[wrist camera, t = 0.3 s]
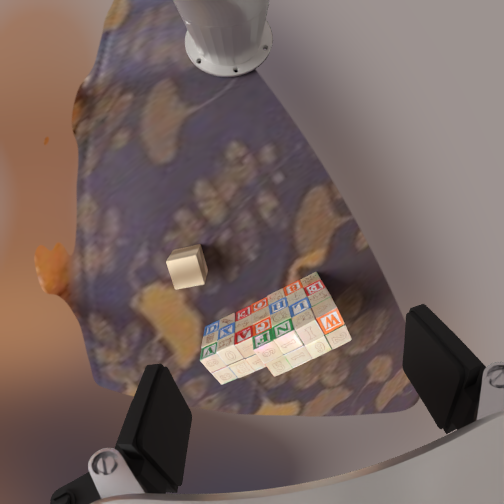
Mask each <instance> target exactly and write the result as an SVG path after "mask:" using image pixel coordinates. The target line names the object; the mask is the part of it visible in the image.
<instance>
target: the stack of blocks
mask: <svg viewBox="0 0 504 504" xmlns="http://www.w3.org/2000/svg"><path fill="white" fill-rule="evenodd" d="M351 340H352V339H351V336H350V334H349V332H348V330H347V327H346V325H345V324H344V321H343V319H342V317H341V314H340V312H339V310H338V308H337V306H336V305H335V303H334V301H333V299H332V297H331V295H330V293H329V292H328V290H327V288H326V287H325V285H324V284H323V282H322V280H321V279H320V277H319V275H318V273H317V272H314V273H312V274H311V275H309V276H307V277H305V278H303V279H301V280H298V281H296V282H294V283H292V284H290V285H288V286H286V287H284V288H282V289H280V290H278V291H276V292H274V293H272V294H270V295H268V296H267V297H266V298H263V299H262V300H260V301H258V302H256V303H254V304H252V305H250V306H248V307H246V308H244V309H242V310H240V311H238V312H236V313H233V314H231V315H229V316H226V317H224V318H222V319H220V320H218V321H216V322H214V323H212V324H210V325H208V326H206V327H205V331H204V336H203V341H202V346H201V348H202V350H201V356H200V361H201V362H202V363H203V365H204V366H205V367H206V368H207V369H208V370H209V372H210V373H212V374H213V376H214V377H215V378H216V379H217V380H218V381H219V382H220V383H221V384H225V383H227V382H230V381H232V380H235V379H237V378H240V377H243V376H245V375H248V374H250V373H253V372H254V371H258V370H260V369H262V368H264V367H266V366H267V368H268V369H269V370H270V372H271V373H272V374H273V376H274V377H275V376H278V375H280V374H282V373H284V372H287V371H289V370H291V369H293V368H294V367H297V366H299V365H301V364H303V363H305V362H308V361H309V360H311V359H314V358H316V357H318V356H320V355H322V354H324V353H326V352H328V351H330V350H332V349H335V348H337V347H339V346H341V345H343V344H345V343H347V342H349V341H351Z"/></svg>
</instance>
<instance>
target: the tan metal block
mask: <svg viewBox="0 0 504 504" xmlns="http://www.w3.org/2000/svg"><path fill="white" fill-rule="evenodd" d="M166 263H167V266H168V269H169V272H170V275H171V278H172V281H173V284H174V287H175V290H176V289H181V288H187V287H192V286H197V285H202V284H205V280H206V276H207V273H208V269H207V265H206V261H205V258H204V254H203V251H202V247H201V244H198V245H194V246H189V247H185V248H180V249H176V250H173V251H172V253H171V254H170V256H169V258H168V259H167V261H166Z"/></svg>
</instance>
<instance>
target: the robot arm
mask: <svg viewBox="0 0 504 504" xmlns="http://www.w3.org/2000/svg"><path fill="white" fill-rule="evenodd" d="M173 1H174V3H175V5H176V7H177V9H178V11H179V13H180V15H181V17H182V19H183V21H184V23H185V25H186V27H187V29H188V30H187V33H186V37H185V48H186V51H187V54H188V56H189V58H190V60H191V61H192V62H193V64H194V65H195V66H197V67H198V68H199V69H200V70H202V71H204V72H205V73H207V74H210V75H213V76H218V77H235V76H241V75H244V74H247V73H249V72H251V71H253V70H255V69H256V68H257V67H259V66H260V65H261V64H262V63H263V62H264V60H266V58H267V56H268V55H269V53H270V50H271V47H272V42H273V38H272V31H271V28H270V26H269V24H268V22H267V21H266V15H267V10H268V5H269V0H173ZM264 48H266V49H267V50H263V49H264ZM199 61H201V63H200V64H199V63H198V62H199ZM235 70H238V72H237V73H235V72H234V71H235ZM403 370H404V372H405V374H406V375H407V377H408V378H409V380H410V382H411V383H412V385H413V386H414V388H415V390H416V391H417V393H418V394H419V396H420V398H421V399H422V401H423V402H424V404H425V406H426V407H427V409H428V411H429V412H430V414H431V416H432V417H433V419H434V421H435V423H436V424H437V426H438V427H439V428H440V429H442V428H443V429H444V431H445V433H446V434H448V433H450V432H451V431H453V430H455V429H457V431H454V432H453V433H451V434H449V435H447V436H444V437H442V438H440V439H438V440H436V441H433V442H431V443H429V444H427V445H424V446H422V447H420V448H417V449H415V450H413V451H410V452H408V453H405V454H403V455H400V456H398V457H395V458H392V459H390V460H387V461H384V462H381V463H378V464H375V465H372V466H369V467H366V468H363V469H359V470H356V471H353V472H349V473H346V474H342V475H338V476H334V477H330V478H326V479H322V480H317V481H312V482H307V483H303V484H297V485H292V486H285V487H279V488H272V489H265V490H256V491H247V492H234V493H218V494H217V493H216V494H166V492H172V493H177V489H178V486H181V485H182V481H183V474H184V467H185V459H186V453H187V447H188V440H189V434H190V428H191V421H192V414H191V411H190V409H189V407H188V405H187V404H186V402H185V400H184V398H183V396H182V394H181V392H180V391H179V389H178V387H177V385H176V383H175V381H174V379H173V377H172V375H171V373H170V371H169V369H168V368H167V367H164V366H163V365H162V364H153V365H147V366H146V368H145V371H144V373H143V376H142V378H141V381H140V383H139V386H138V388H137V391H136V393H135V396H134V399H133V401H132V403H131V405H130V408H129V410H128V413H127V416H126V418H125V421H124V424H123V427H122V429H121V432H120V435H119V438H118V441H117V443H116V446H115V449H113V448H104V449H101V450H99V451H97V452H96V453H94V454H93V456H92V457H91V458H90V460H89V463H88V469H89V472H88V473H86V474H84V475H83V476H81V477H79V478H77V479H76V480H74V481H72V482H70V483H68V484H67V485H65V486H63V487H61V488H59V489H58V490H56V491H55V492H54V494H53V495H52V497H51V503H50V504H504V363H503V362H495V363H492V364H490V365H488V366H487V367H485V366H484V365H483V363H482V362H481V361H480V360H479V359H478V358H477V357H476V356H475V355H474V354H473V353H472V352H471V350H470V349H469V348H468V347H467V346H466V345H465V344H464V343H463V342H462V341H461V340H460V339H459V338H458V337H457V336H456V335H455V334H454V333H453V332H452V331H451V330H450V329H449V328H448V327H447V326H446V325H445V324H444V323H443V322H442V321H441V320H440V319H439V318H438V317H437V316H436V315H435V314H434V313H433V312H432V311H431V310H430V309H429V308H428V307H426V305H424V304H421V305H419V306H416V307H413V308H411V309H410V311H409V313H407V314H406V327H405V342H404V354H403Z"/></svg>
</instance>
